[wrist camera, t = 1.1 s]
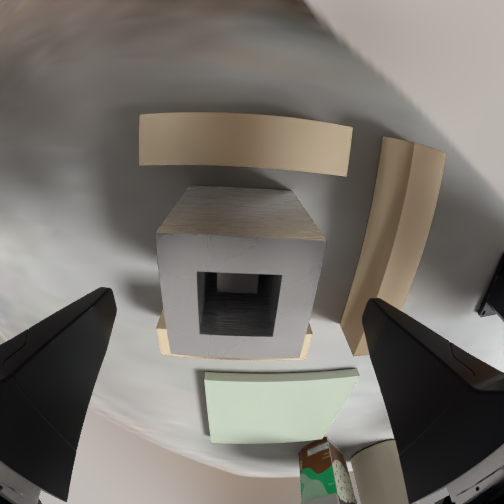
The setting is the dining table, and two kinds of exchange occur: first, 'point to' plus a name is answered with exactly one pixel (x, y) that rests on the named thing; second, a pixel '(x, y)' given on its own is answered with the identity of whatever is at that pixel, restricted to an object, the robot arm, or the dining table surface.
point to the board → (275, 405)
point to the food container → (324, 475)
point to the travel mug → (380, 475)
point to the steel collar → (238, 261)
